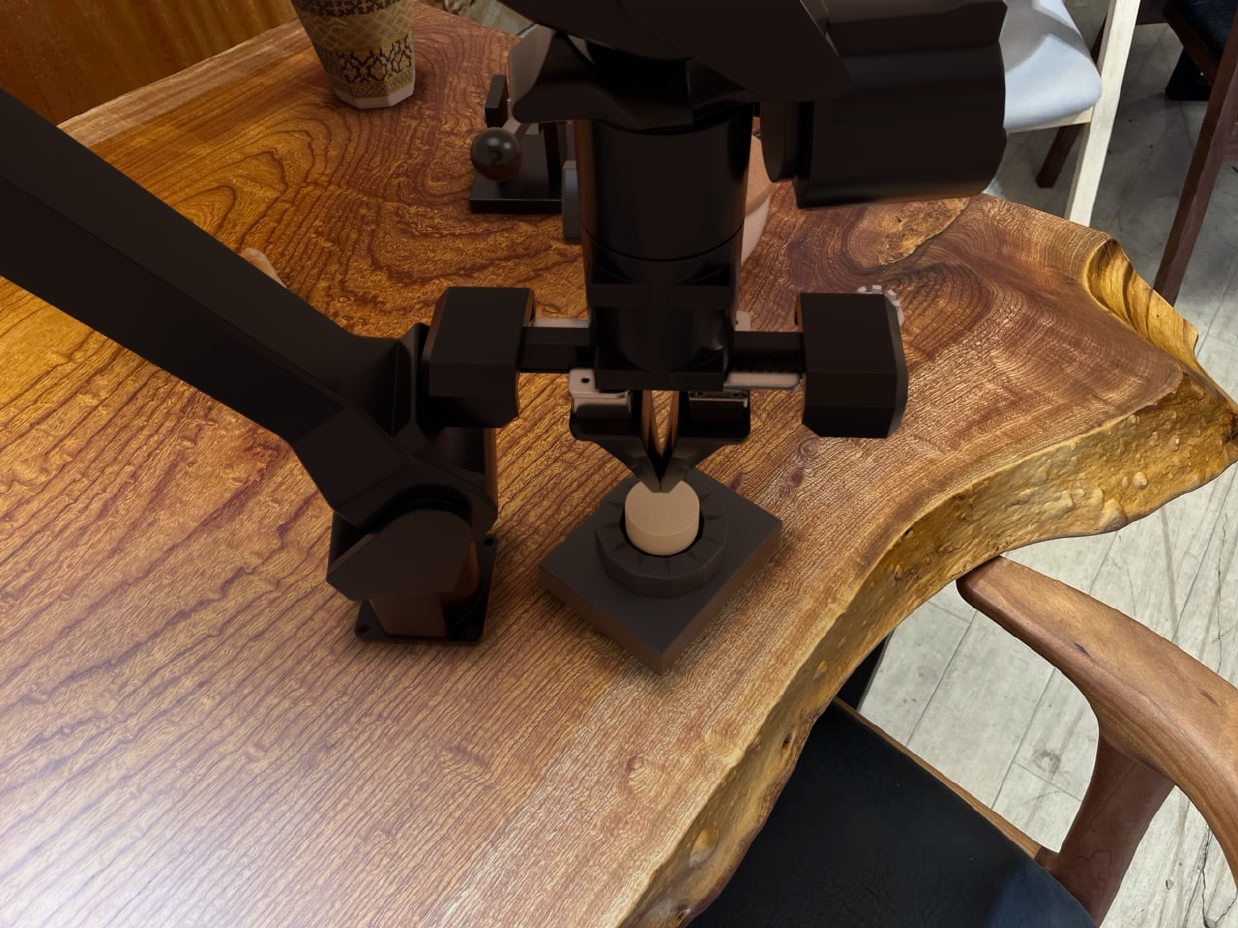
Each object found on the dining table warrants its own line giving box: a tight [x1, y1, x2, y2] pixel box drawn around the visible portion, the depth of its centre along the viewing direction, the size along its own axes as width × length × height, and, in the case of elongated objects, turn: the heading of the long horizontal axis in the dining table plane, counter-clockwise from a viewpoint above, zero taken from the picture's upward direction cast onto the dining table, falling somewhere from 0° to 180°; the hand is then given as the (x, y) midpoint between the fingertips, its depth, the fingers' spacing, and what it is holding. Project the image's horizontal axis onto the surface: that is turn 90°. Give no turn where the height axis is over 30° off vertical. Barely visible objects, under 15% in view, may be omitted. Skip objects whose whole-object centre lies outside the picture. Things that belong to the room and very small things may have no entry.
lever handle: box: [469, 96, 543, 182], centre depth 64 cm, size 15×3×3 cm, turn 176°
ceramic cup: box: [289, 0, 416, 110], centre depth 79 cm, size 13×10×10 cm
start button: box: [625, 481, 699, 556], centre depth 47 cm, size 4×4×2 cm
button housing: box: [537, 446, 784, 676], centre depth 49 cm, size 10×8×4 cm
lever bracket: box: [468, 74, 576, 215], centre depth 71 cm, size 10×8×7 cm
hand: (660, 485), depth 45 cm, fingers closed
